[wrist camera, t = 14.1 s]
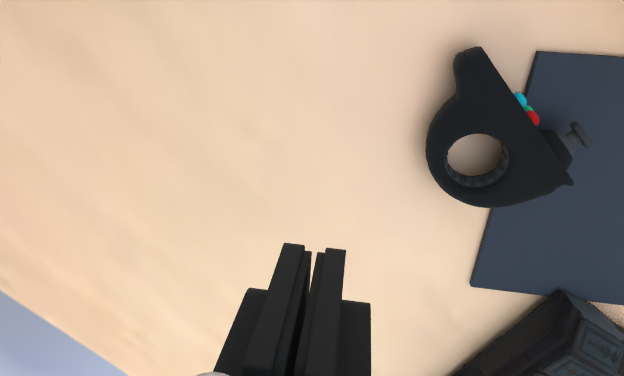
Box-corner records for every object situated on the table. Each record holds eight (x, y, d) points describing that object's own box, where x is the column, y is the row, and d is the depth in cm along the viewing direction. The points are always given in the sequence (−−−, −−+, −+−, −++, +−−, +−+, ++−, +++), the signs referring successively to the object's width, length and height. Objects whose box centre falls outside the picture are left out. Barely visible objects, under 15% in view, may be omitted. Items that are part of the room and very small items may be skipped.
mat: (536, 50, 28) (539, 51, 28) (749, 65, 27) (757, 66, 26) (469, 282, 37) (470, 286, 37) (626, 301, 36) (630, 306, 36)
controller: (475, 241, 31) (616, 175, 26) (379, 115, 28) (513, 18, 24) (471, 215, 34) (594, 153, 29) (386, 102, 32) (504, 15, 27)
